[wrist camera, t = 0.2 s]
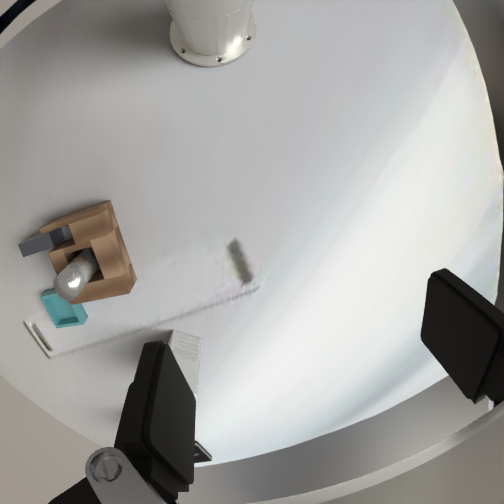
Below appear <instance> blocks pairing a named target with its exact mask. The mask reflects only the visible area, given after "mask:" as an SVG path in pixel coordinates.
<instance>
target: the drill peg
mask: <svg viewBox="0 0 504 504" xmlns="http://www.w3.org/2000/svg"><path fill="white" fill-rule="evenodd" d="M99 267H100V266H99V264H98V261H97V258H96V256H95V253H94V250H93V248H92V246H91V247H88V248H85V249H84V250H83V251H82V252H81V253H80V254H79V255H78V256H77V257H76V258H75V259H74V260H73V261H72V262H71V263H70V264H69V265H68V266H67V267H66V268H65V269H64V270H63V271H62V272H61V273H60V274H59V275H58V276H57V277H56V278H55V280H54V289H55V291H56V293H57V294H58V295H59V296H60V297H61V298H62V299H64V300H67V301H72V300H74V299H75V298H76V297H77V296H78V294H79V293H80V292H81V290H82V289H83V288H84V286H85V285H86V284H87V283H88V281H89V280H90V279H91V277H92V276H93V275H94V274H95V272H96V271H97V270H98V269H99Z"/></svg>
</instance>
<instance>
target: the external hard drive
mask: <svg viewBox="0 0 504 504" xmlns="http://www.w3.org/2000/svg"><path fill="white" fill-rule="evenodd" d="M207 461H212V456H211V455H210V454H209V453H208V452H207V451H206V450H205V449H204V448H203V447H202V446H201V445H200V444H199V443H198V442H197V441H194V463H199V462H207Z"/></svg>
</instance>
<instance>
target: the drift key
mask: <svg viewBox="0 0 504 504" xmlns="http://www.w3.org/2000/svg"><path fill="white" fill-rule="evenodd" d="M64 239H65V238H64V235H63V232H62V229H61V227H60V228H57V229H54V230H51V231H49V232H46V233H43V234H41V233H39V234H36V235H33V236H31V237H29V238H27V239H26V240H24V241H23V242H21V243H20V244H19V248H20V250H21V253H22V255H23V257H25V256H28V255H31V254H34V253H37V252H40V251H43V250H46V249H49V248H53V247H55V246H56V245H57V244H58V243H60V242H61V241H62V240H64Z"/></svg>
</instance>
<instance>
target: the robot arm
mask: <svg viewBox="0 0 504 504" xmlns="http://www.w3.org/2000/svg"><path fill="white" fill-rule="evenodd" d="M165 3H166V5H167V7H168V10H169V12H170V14H171V17H172V19H173V20H172V22H171V25H170V30H169V36H170V41H171V44H172V46H173V48H174V50H175V51H176V52H177V54H178V55H179V56H180V57H182V58H183V59H184V60H186V61H188V62H189V63H192V64H195V65H198V66H204V67H216V66H222V65H225V64H228V63H231V62H233V61H235V60H237V59H239V58H240V57H241V56H243V55H244V54H245V53H246V52H247V51H248V50H249V48H250V47H251V45H252V43H253V41H254V38H255V34H256V23H255V19H254V17H253V15H252V13H251V12H250V11H251V7H252V4H253V0H165ZM246 39H250V40H249V41H248V40H246ZM182 51H185V53H182ZM218 60H221V62H218ZM421 340H422V342H423V343H424V344H425V346H426V347H427V348H428V349H429V350H430V352H431V353H432V354H433V355H434V357H435V358H436V359H437V360H438V362H439V363H440V364H441V365H442V367H443V368H444V369H445V370H446V372H447V373H448V374H449V375H450V377H451V378H452V379H453V381H454V382H455V383H456V384H457V386H458V387H459V389H460V390H461V391H462V392H463V394H464V395H465V396H466V398H468V399H471V400H472V401H473V403H474V404H476V403H478V402H479V401H481V400H482V399H484V398H485V396H486V395H487V396H488V397H489V408H488V412H487V413H486V414H484V415H483V416H481V417H480V418H478V419H477V420H475V421H474V422H472V423H471V424H469V425H468V426H466V427H464V428H463V429H461V430H460V431H458V432H456V433H454V434H453V435H451V436H449V437H447V438H446V439H444V440H442V441H440V442H438V443H436V444H435V445H433V446H431V447H429V448H427V449H425V450H423V451H421V452H419V453H417V454H415V455H413V456H411V457H408V458H406V459H404V460H402V461H399V462H397V463H395V464H393V465H390V466H388V467H385V468H383V469H381V470H378V471H376V472H373V473H370V474H367V475H365V476H361V477H359V478H356V479H353V480H350V481H347V482H343V483H340V484H337V485H334V486H331V487H327V488H323V489H320V490H316V491H312V492H308V493H303V494H300V495H295V496H290V497H285V498H280V499H274V500H268V501H262V502H255V503H248V504H504V313H502V312H501V311H500V310H499V309H498V308H496V307H495V306H494V305H493V304H492V303H490V302H489V301H488V300H487V299H486V298H484V297H483V296H482V295H481V294H479V293H478V292H477V291H475V290H474V289H473V288H472V287H470V286H469V285H468V284H466V283H465V282H464V281H463V280H461V279H460V278H459V277H457V276H456V275H455V274H453V273H452V272H451V271H449V270H448V269H446V268H444V269H441V270H438V271H435V272H433V273H432V274H431V276H430V278H429V279H428V284H427V293H426V301H425V309H424V316H423V322H422V328H421ZM195 412H196V400H195V396H194V394H193V392H192V390H191V388H190V386H189V384H188V382H187V380H186V379H185V377H184V375H183V373H182V371H181V369H180V367H179V365H178V363H177V361H176V359H175V356H174V354H173V352H172V350H171V348H170V346H169V345H168V344H164V343H163V342H162V341H156V342H149V343H145V344H144V347H143V350H142V353H141V357H140V360H139V364H138V367H137V371H136V374H135V378H134V382H132V383H131V384H130V386H129V388H128V392H127V396H126V400H125V403H124V407H123V411H122V415H121V419H120V423H119V427H118V431H117V435H116V440H115V444H114V448H113V447H105V448H101V449H99V450H96V451H95V452H94V453H93V454H91V456H90V457H89V458H88V460H87V463H86V466H85V473H86V476H87V477H85V478H84V479H82V480H81V481H79V482H78V483H77V484H75V485H74V486H72V487H71V488H69V489H68V490H66V491H65V492H63V493H62V494H60V495H59V496H57V497H55V498H54V499H53V500H51V501H50V502H49V503H48V504H180V503H179V502H177V499H178V492H188V491H189V484H192V483H193V481H194V441H195Z"/></svg>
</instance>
